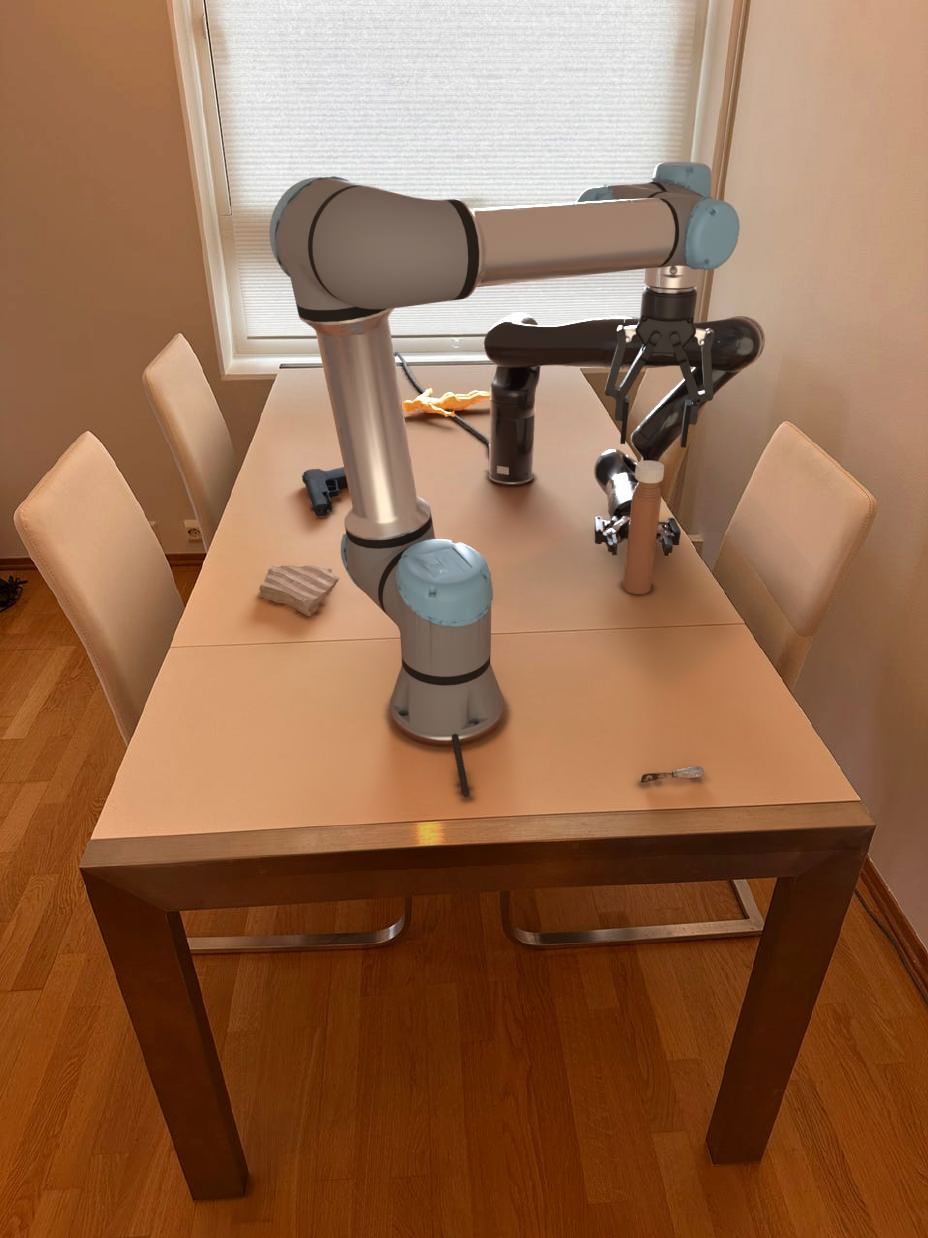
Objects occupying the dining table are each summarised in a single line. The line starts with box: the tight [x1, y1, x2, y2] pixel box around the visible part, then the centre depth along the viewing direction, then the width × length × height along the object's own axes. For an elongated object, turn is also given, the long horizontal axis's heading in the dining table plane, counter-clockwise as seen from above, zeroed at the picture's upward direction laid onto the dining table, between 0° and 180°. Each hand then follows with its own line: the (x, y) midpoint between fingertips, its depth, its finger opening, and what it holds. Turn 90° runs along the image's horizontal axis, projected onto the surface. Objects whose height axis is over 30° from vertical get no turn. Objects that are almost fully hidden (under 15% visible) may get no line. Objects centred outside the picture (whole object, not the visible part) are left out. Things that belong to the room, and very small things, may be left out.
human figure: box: [402, 385, 490, 418], centre depth 225 cm, size 20×20×4 cm
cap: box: [635, 461, 665, 484], centre depth 139 cm, size 4×4×2 cm
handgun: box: [301, 466, 349, 518], centre depth 180 cm, size 3×18×12 cm
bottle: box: [622, 481, 662, 595], centre depth 144 cm, size 4×4×21 cm
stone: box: [258, 564, 339, 617], centre depth 147 cm, size 13×12×3 cm
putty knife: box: [640, 765, 705, 784], centre depth 109 cm, size 1×8×2 cm, turn 103°
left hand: (652, 442), depth 136 cm, fingers open, 8 cm apart
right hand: (641, 550), depth 147 cm, fingers open, 8 cm apart
